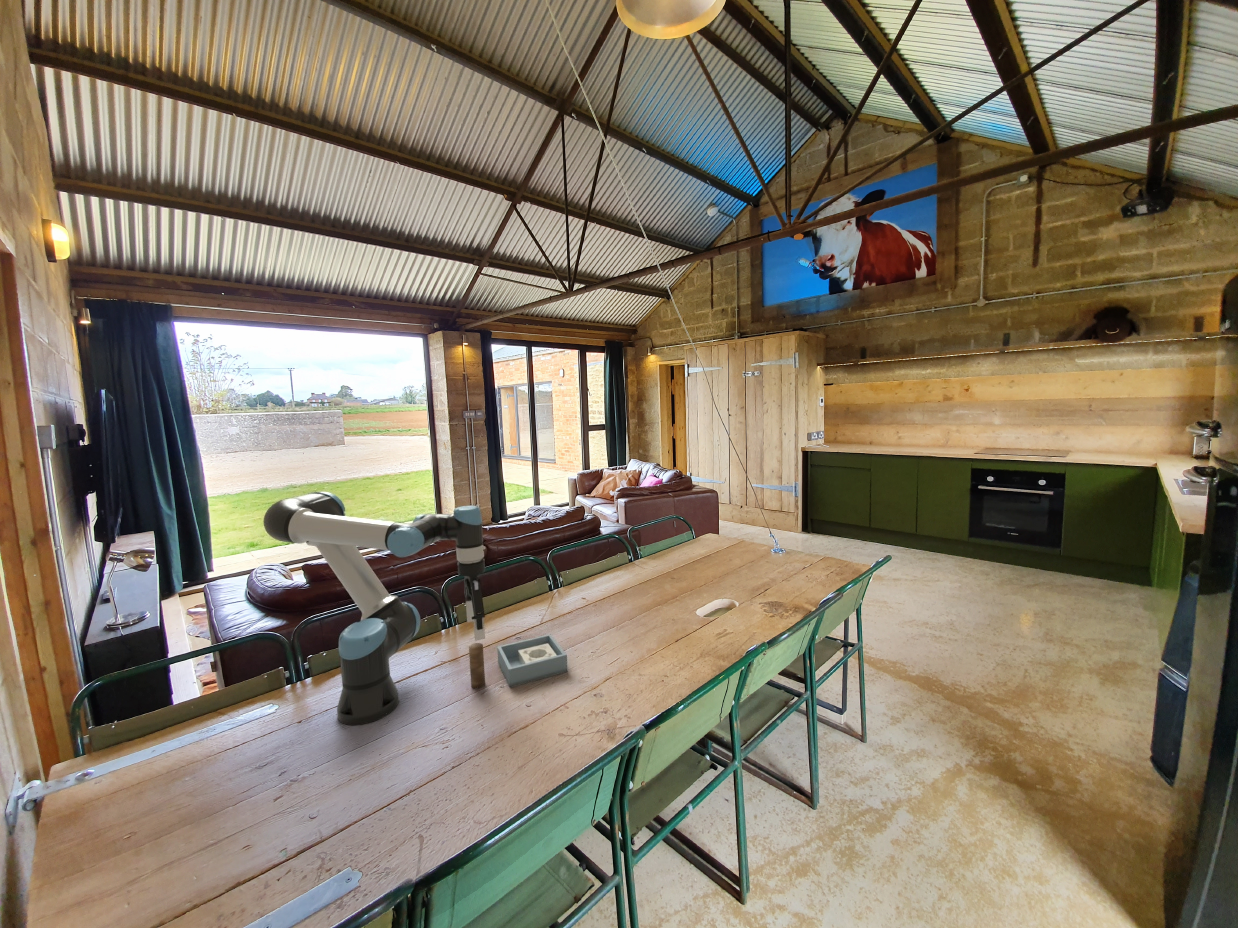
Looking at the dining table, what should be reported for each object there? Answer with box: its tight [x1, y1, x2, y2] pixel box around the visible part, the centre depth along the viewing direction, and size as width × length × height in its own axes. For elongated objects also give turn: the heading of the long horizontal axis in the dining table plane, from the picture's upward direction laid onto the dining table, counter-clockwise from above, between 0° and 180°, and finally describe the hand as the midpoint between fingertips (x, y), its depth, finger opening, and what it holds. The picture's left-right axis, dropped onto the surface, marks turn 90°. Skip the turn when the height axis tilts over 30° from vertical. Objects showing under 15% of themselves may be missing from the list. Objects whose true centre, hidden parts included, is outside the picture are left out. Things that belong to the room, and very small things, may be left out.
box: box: [496, 633, 568, 688], centre depth 152 cm, size 18×16×6 cm
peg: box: [468, 642, 486, 689], centre depth 142 cm, size 4×4×12 cm
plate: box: [518, 643, 557, 664], centre depth 153 cm, size 10×10×3 cm
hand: (475, 629), depth 141 cm, fingers open, 13 cm apart
